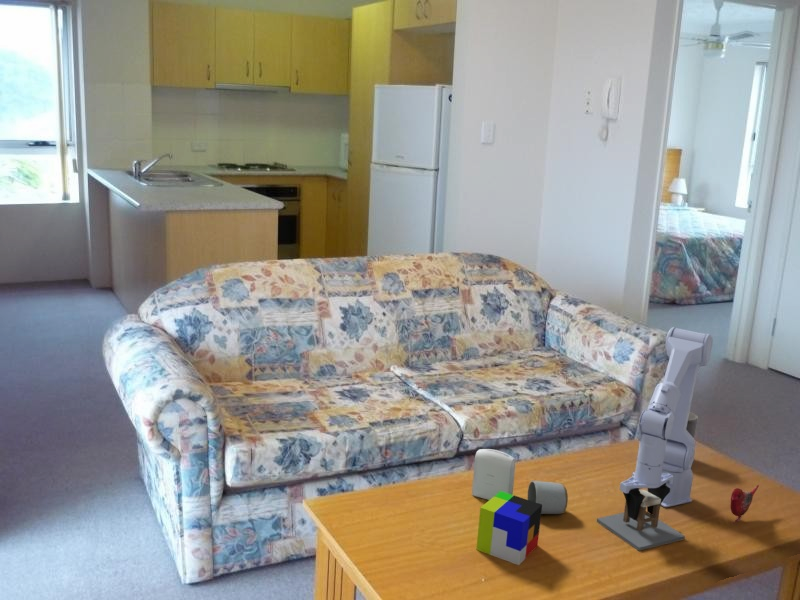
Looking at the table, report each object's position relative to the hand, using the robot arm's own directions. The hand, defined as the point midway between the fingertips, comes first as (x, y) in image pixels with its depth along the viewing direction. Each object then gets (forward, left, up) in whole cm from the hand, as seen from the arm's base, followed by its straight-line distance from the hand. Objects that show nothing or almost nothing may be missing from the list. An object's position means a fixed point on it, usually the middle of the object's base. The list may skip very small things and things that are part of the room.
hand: (642, 515), depth 192 cm
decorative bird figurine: (-28, +5, -4) cm, 29 cm away
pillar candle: (-39, -28, -4) cm, 48 cm away
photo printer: (+24, -26, -4) cm, 36 cm away
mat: (0, 0, -4) cm, 4 cm away
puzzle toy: (+34, -5, -4) cm, 35 cm away
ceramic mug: (+15, -17, -4) cm, 23 cm away
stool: (0, 0, -2) cm, 2 cm away
